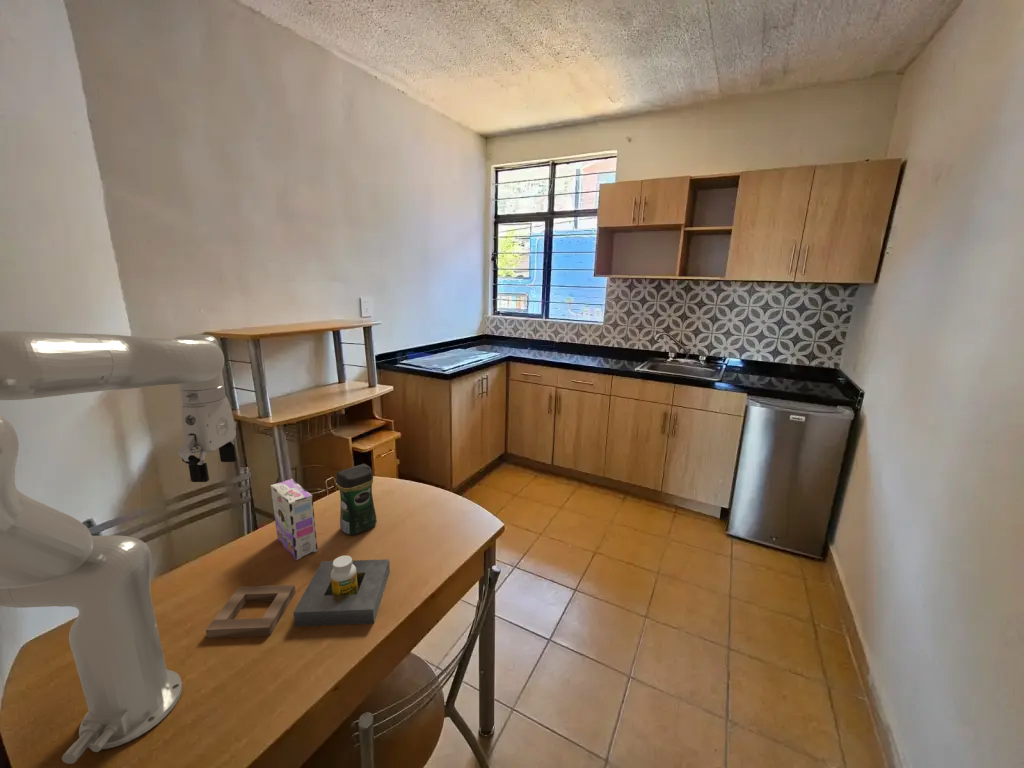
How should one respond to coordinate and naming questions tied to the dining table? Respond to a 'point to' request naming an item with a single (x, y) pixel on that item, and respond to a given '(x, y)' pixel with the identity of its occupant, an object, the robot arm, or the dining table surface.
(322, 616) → the block
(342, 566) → the supplement bottle
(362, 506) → the coffee jar
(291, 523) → the candy box
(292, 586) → the walnut frame
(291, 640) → the dining table surface
